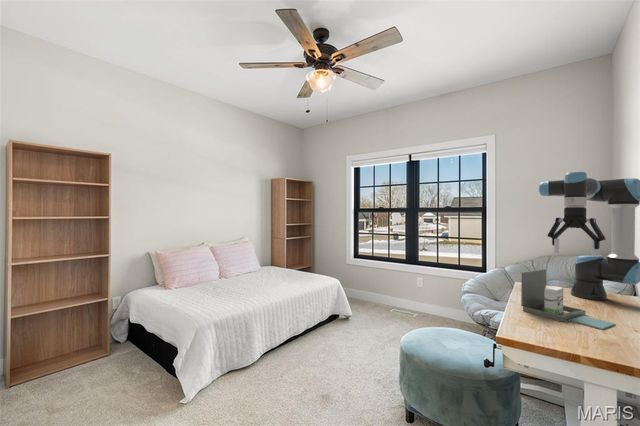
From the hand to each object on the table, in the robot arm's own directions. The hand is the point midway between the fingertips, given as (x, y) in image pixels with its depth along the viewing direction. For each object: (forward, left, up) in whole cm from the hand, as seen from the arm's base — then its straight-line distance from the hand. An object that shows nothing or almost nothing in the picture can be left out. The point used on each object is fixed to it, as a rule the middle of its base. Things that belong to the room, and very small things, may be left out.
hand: (574, 254), depth 132 cm
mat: (+1, +7, -28) cm, 29 cm away
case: (+1, -7, -28) cm, 29 cm away
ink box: (+1, -7, -28) cm, 29 cm away
